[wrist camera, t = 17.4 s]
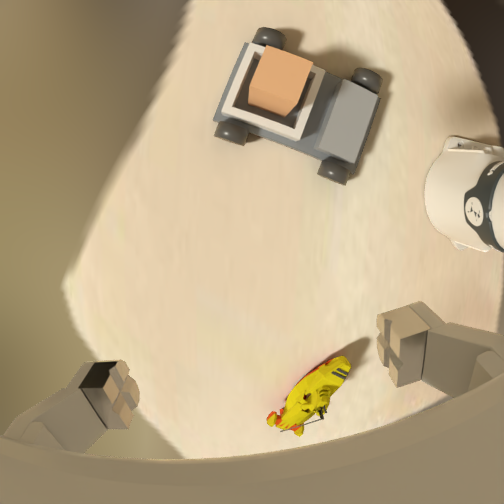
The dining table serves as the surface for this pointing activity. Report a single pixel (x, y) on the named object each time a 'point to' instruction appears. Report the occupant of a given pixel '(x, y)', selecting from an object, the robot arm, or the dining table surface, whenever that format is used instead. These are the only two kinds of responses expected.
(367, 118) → the chassis
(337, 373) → the toy boat
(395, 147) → the dining table surface
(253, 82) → the block
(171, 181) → the dining table surface
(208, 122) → the dining table surface
